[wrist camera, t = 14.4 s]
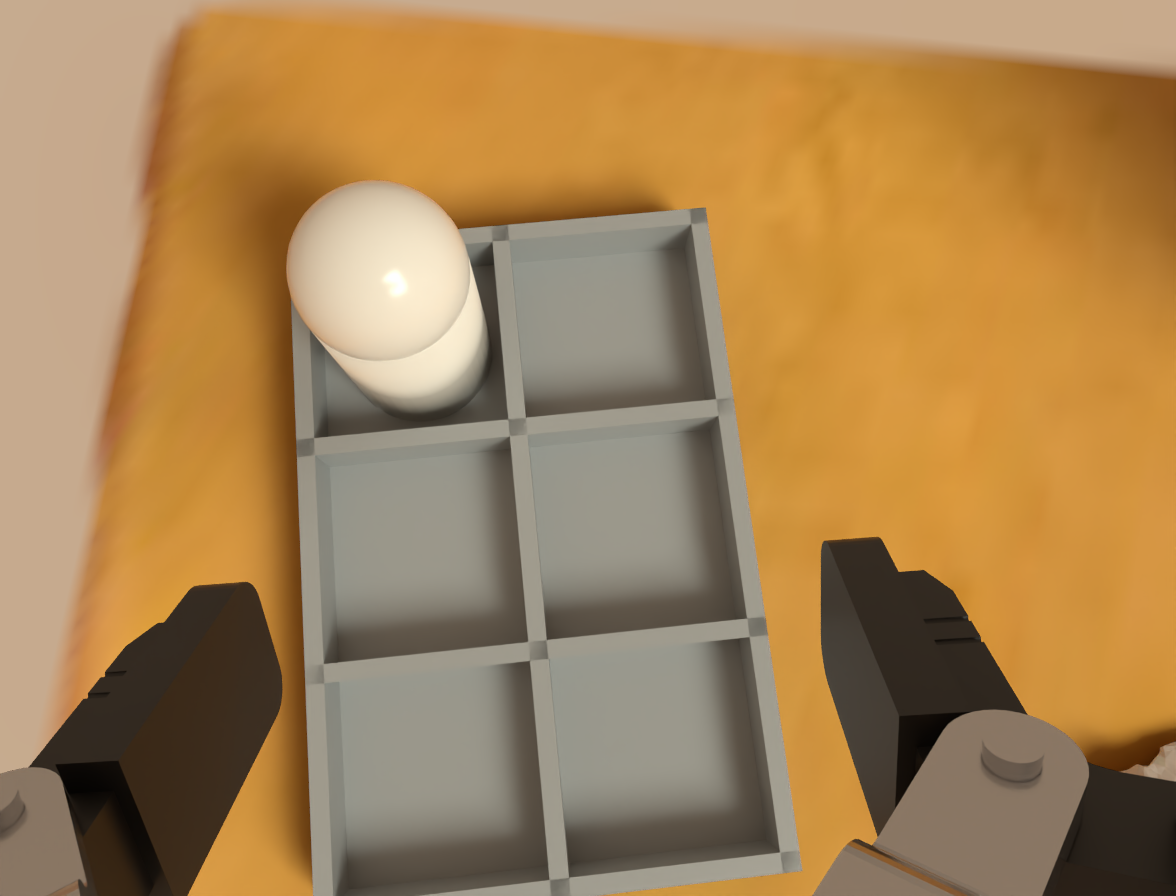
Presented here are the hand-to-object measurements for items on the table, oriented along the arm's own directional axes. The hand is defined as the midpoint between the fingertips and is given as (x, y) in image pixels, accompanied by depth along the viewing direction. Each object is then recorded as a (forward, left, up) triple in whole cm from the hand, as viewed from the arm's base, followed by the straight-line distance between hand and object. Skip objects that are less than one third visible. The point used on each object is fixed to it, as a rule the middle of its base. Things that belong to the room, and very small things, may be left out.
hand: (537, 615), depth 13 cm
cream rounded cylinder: (+4, -11, -19) cm, 22 cm away
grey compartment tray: (+1, -3, -20) cm, 20 cm away
